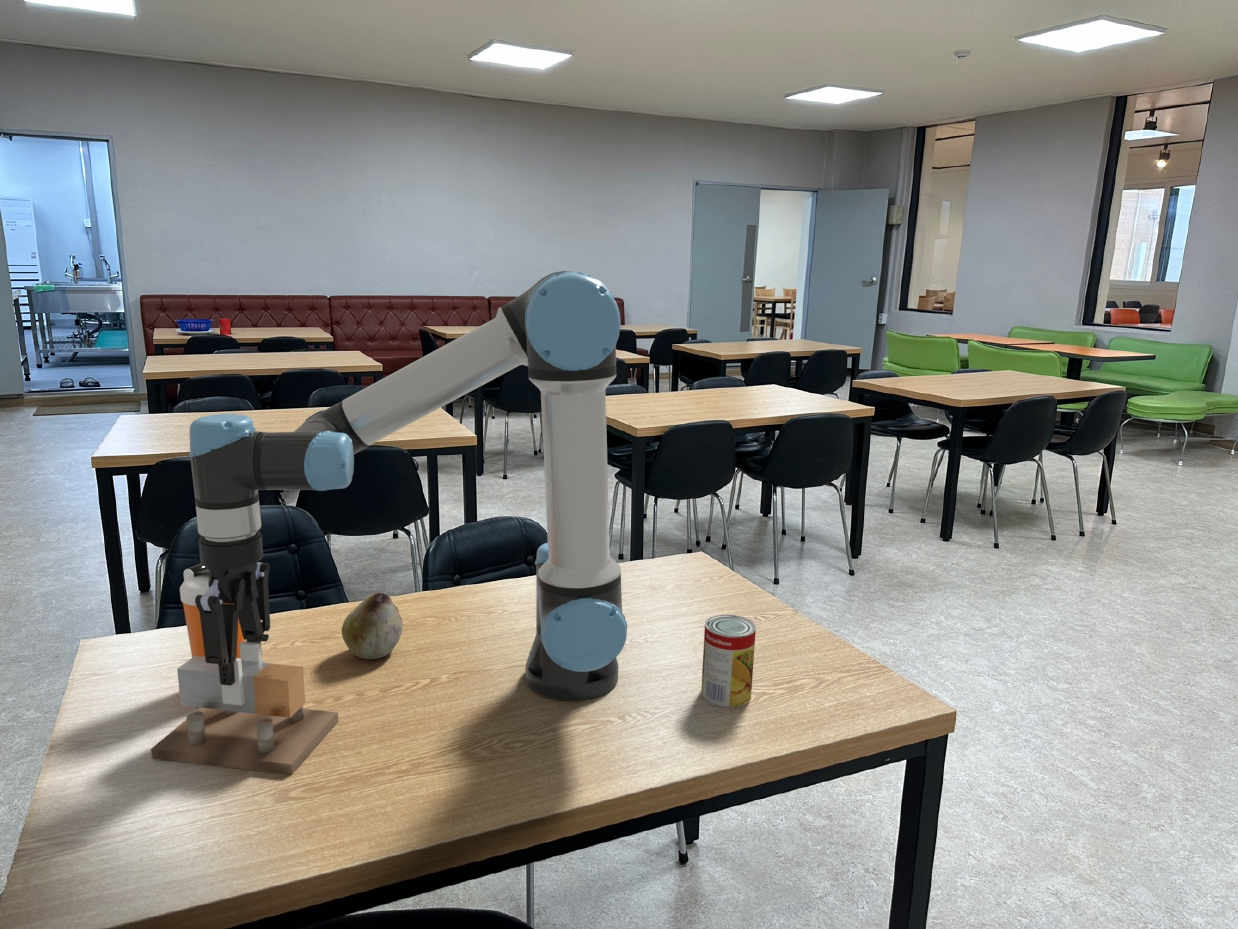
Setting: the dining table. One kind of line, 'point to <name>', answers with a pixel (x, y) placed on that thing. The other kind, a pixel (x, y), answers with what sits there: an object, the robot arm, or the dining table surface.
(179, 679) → the bar
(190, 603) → the shaker bottle
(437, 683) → the dining table surface
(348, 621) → the fruit
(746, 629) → the canned food
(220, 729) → the peg rack
